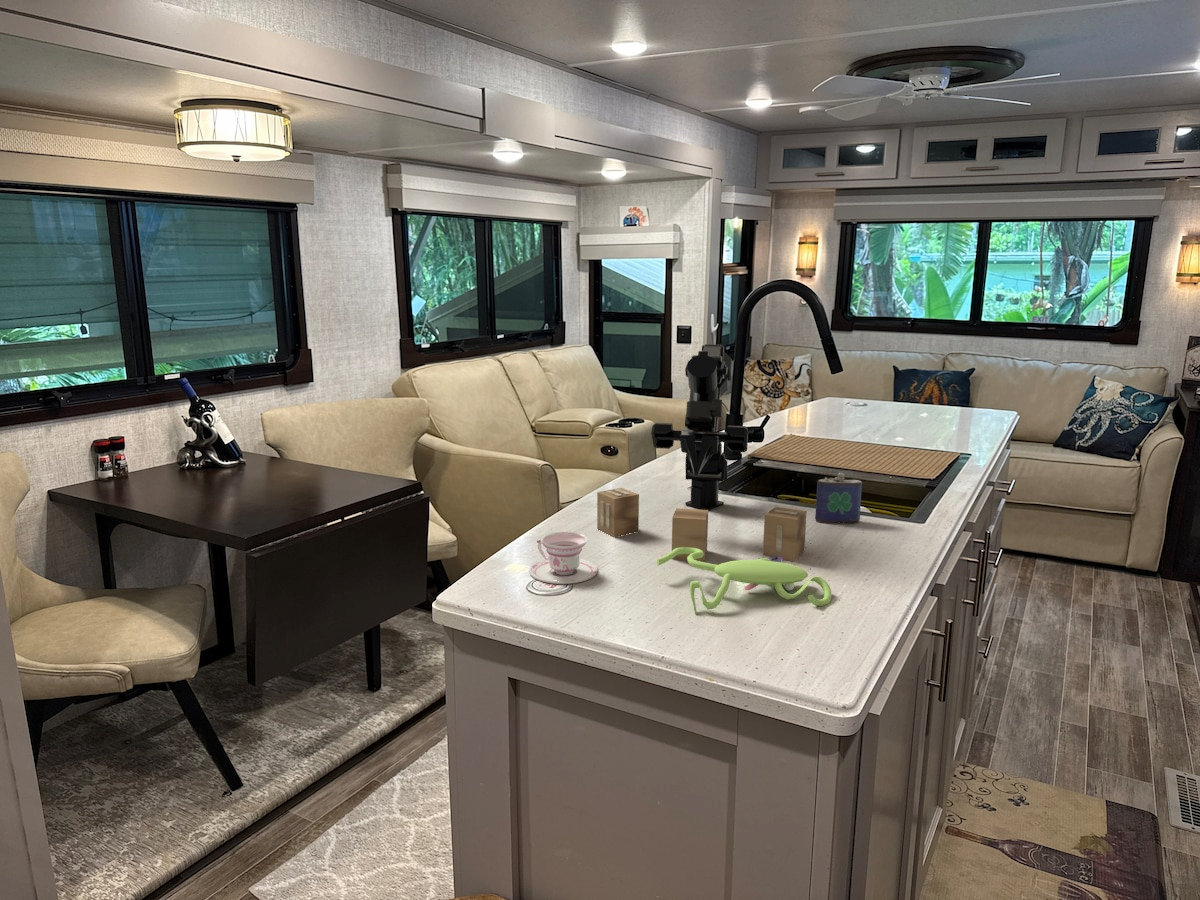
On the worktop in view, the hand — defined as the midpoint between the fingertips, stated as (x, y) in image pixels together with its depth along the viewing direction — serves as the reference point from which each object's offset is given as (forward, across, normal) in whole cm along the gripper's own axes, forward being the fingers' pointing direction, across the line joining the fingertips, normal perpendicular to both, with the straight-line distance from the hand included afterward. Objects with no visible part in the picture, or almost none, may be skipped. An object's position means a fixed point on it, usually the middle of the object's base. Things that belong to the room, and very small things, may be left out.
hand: (696, 474), depth 158 cm
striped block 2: (+13, +17, +6) cm, 22 cm away
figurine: (+27, +10, -8) cm, 29 cm away
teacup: (+25, -21, -6) cm, 33 cm away
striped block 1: (+8, -16, +11) cm, 21 cm away
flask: (-3, +28, +22) cm, 36 cm away
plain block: (+16, 0, +3) cm, 16 cm away
